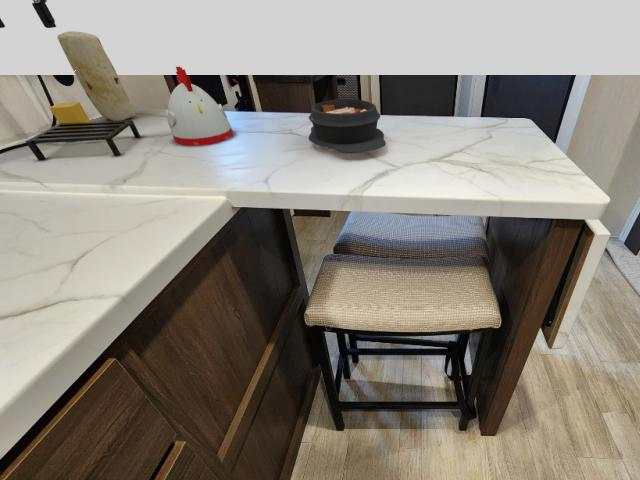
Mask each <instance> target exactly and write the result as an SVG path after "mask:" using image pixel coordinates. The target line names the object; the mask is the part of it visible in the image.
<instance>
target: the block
mask: <svg viewBox="0 0 640 480" xmlns="http://www.w3.org/2000/svg"><path fill="white" fill-rule="evenodd" d="M49 109H50V111H51V113H52V114H53V117H54V118H55V119H56V121H57V122H58V124H59V123H84V122H91V120H90V118H89V116H88V114H87V113H86V112H85V109H84V108H83V106H82V105H81V103H80V101H79V102H58V103H56V104H54V105H52V106H50V107H49Z"/></svg>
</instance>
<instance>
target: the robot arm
mask: <svg viewBox="0 0 640 480" xmlns="http://www.w3.org/2000/svg"><path fill="white" fill-rule="evenodd" d="M47 1H48V0H32V3H31V5H32V7H33V9H34V10H35V13H36V14H37V17H38V18H39V19H40V21H41V23H42V25H43V26H44V28H46V29H53V28H57V24H56V20H55V18H54V17H53V14H52V13H51V11H50V8H48V5H47ZM5 27H6V25H5V23H4V21H3V20H2V19H1V17H0V29H4V28H5Z"/></svg>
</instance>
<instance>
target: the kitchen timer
mask: <svg viewBox="0 0 640 480" xmlns="http://www.w3.org/2000/svg"><path fill="white" fill-rule="evenodd" d="M175 69H176V71H175V73H176V80H177V82H178V84H177V86H176V87H174V89H173V90H172V92H171V94H170V97H169V99H168V106H167V108H165V109H164V111H165V115H166V120H167V124H168V126H169V130H170V133H171V135H172V137H173V140H174V142H175V143H176V144H177V145H180V146H187V147H198V146H199V147H201V146H210V145H214V144H218V143H219V144H220V143H222V142H226V141H227V140H230V139H231V138H233V136H234V132H233V129H232V126H231V123H230V122H229V120H228V116H227V114H226V112H225V109H224V108H223V106H222V104H221V103H217V101H215V99H214V98H213V97H212V96H211V95H209V93H207V92H206V91H205V90H203V88H201V87H200V86H197V85H195V84H193V83H191V79H190V78H191V77H190V76H188V74H187V71H186V69H184V68H183V67H182V66H179V65H178V66H175Z"/></svg>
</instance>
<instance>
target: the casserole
mask: <svg viewBox="0 0 640 480" xmlns="http://www.w3.org/2000/svg"><path fill="white" fill-rule="evenodd" d="M380 118H381V114H380V113H379V112H378V109H377V106H376V104H374V103H373V102H370V101H367V100H362V99H356V98H355V99H353V98H352V99H351V98H339V99H330V100H325V101H320V102H317V103H315V104H313V105H312V106H311V110H310V115H308V120H309V121H310V122H311V123H312V126H311V128H310V133H309V135H308V140H309V142H311V143H312V144H313V145H316V146H318V147H322V148H327V149H330V150H333V151H336V152H338V153H343V154H361V153H366V152H372V151H376V150H379V149H381V148H383V147H385V146H386V144H387V142H386V140H385V133H384V132H383V131H382V130H381V129H380V128H378V121H379V120H380Z"/></svg>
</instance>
